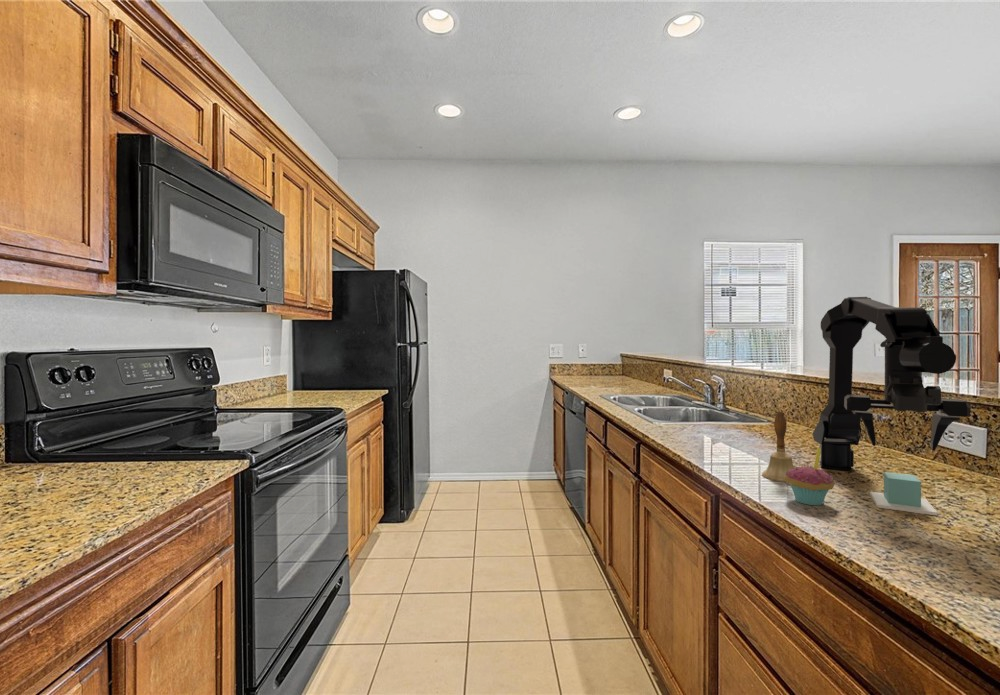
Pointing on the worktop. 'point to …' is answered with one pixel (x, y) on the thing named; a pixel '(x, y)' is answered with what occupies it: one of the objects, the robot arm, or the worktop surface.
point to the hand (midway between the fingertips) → (902, 447)
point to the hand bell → (779, 453)
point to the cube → (902, 489)
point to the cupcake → (809, 483)
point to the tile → (882, 503)
